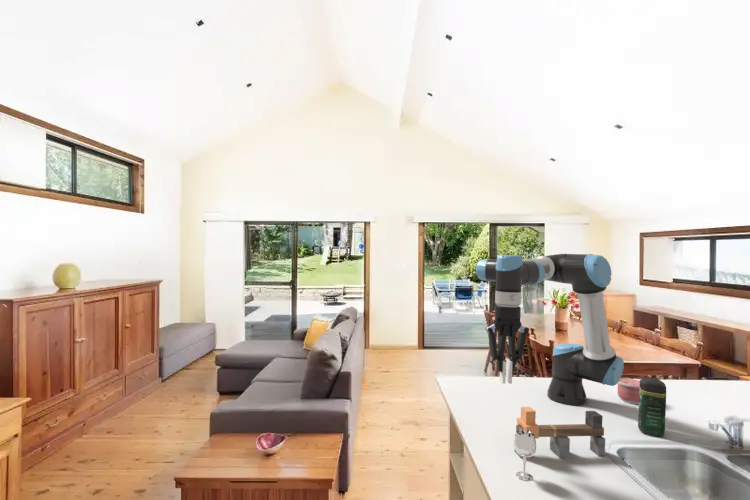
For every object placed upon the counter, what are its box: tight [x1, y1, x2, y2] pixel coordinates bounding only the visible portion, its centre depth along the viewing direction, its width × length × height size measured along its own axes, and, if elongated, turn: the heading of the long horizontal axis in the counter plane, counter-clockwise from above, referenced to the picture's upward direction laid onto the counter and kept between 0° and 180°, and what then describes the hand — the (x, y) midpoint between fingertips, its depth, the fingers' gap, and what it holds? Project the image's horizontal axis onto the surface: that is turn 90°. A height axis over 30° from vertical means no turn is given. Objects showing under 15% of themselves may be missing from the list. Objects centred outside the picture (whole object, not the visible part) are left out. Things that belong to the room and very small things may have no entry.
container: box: [617, 377, 640, 405], centre depth 179 cm, size 10×10×8 cm
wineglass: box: [513, 430, 537, 482], centre depth 117 cm, size 6×6×12 cm
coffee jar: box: [637, 376, 667, 437], centre depth 149 cm, size 10×8×19 cm
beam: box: [514, 410, 606, 459], centre depth 131 cm, size 6×27×12 cm, turn 96°
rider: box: [516, 406, 540, 440], centre depth 129 cm, size 6×4×8 cm, turn 6°
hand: (505, 381), depth 129 cm, fingers closed
